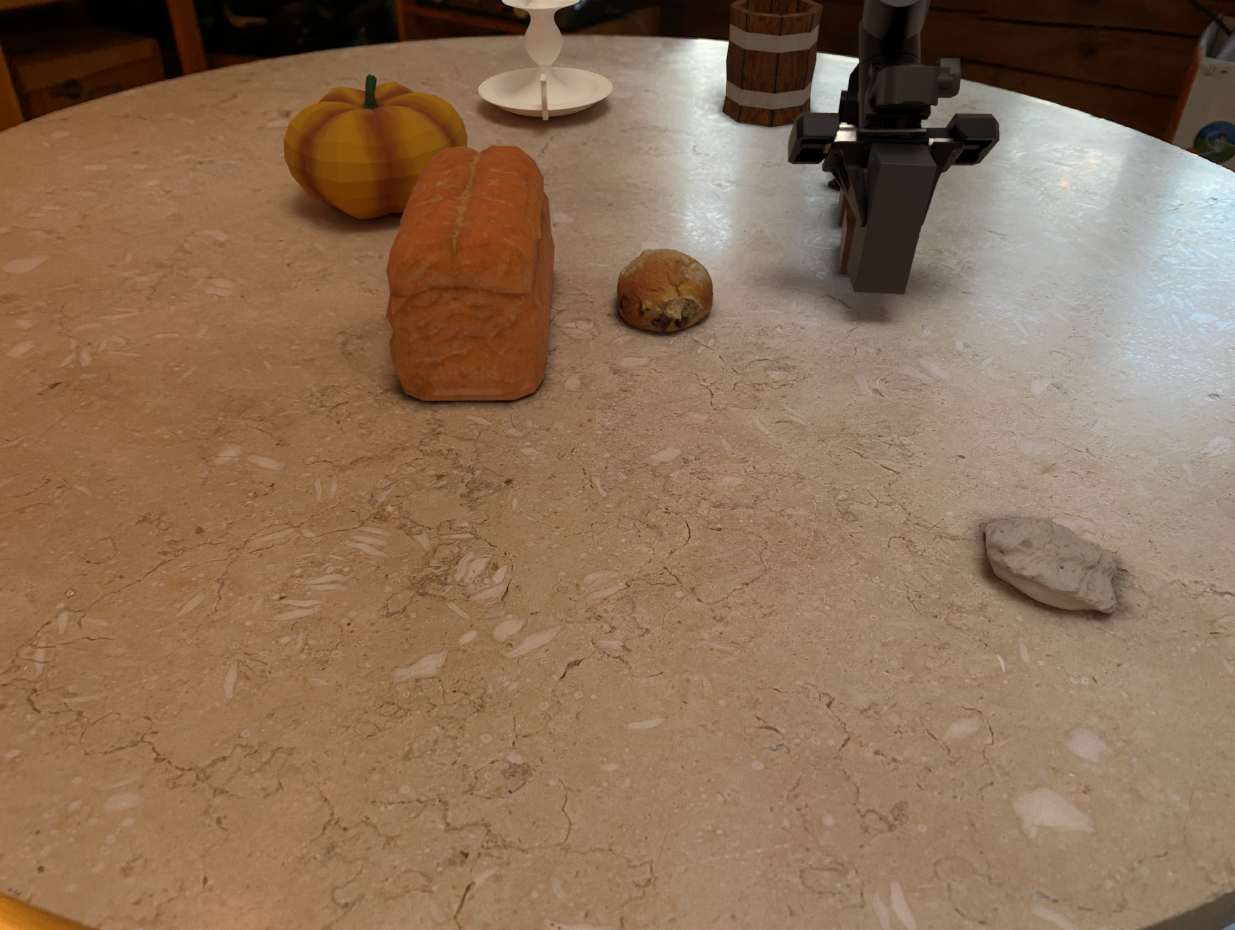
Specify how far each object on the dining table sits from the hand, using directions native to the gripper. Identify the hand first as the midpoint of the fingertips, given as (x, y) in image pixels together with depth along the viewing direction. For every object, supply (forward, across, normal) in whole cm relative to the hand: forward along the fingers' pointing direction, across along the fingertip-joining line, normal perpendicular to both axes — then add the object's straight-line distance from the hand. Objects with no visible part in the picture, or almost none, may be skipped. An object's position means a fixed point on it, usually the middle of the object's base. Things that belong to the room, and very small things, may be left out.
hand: (891, 226), depth 88 cm
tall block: (+4, 0, +6) cm, 7 cm away
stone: (+32, +6, -18) cm, 37 cm away
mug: (-39, -5, +54) cm, 67 cm away
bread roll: (+6, -21, +8) cm, 24 cm away
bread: (+9, -39, +6) cm, 41 cm away
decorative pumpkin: (-13, -56, +27) cm, 64 cm away
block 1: (-10, +3, +25) cm, 27 cm away
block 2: (-2, +2, +16) cm, 16 cm away
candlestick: (-36, -39, +51) cm, 74 cm away
